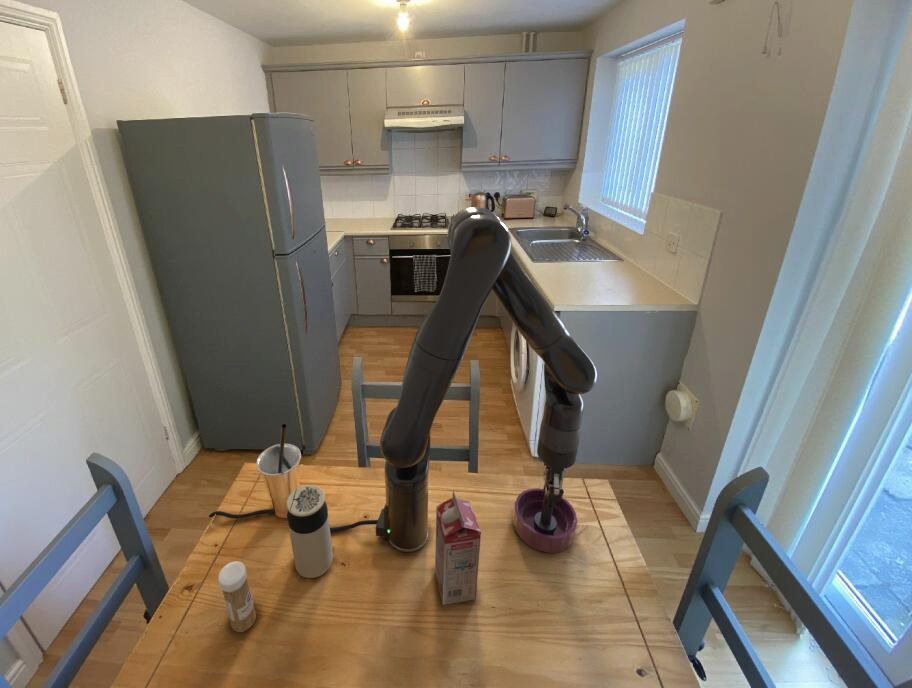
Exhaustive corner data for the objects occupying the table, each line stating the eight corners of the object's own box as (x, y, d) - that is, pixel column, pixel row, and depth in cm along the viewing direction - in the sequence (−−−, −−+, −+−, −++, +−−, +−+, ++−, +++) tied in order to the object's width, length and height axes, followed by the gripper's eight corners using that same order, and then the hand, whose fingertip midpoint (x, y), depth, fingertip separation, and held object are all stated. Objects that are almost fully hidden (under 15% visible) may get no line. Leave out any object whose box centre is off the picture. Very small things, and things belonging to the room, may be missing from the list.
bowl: (512, 547, 92) (514, 531, 90) (513, 498, 104) (514, 483, 102) (577, 560, 89) (581, 544, 87) (570, 509, 101) (573, 493, 99)
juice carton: (442, 604, 81) (445, 523, 73) (435, 571, 87) (436, 493, 79) (475, 599, 82) (482, 518, 74) (465, 566, 88) (470, 488, 80)
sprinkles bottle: (255, 629, 78) (243, 581, 73) (229, 636, 77) (215, 588, 72) (257, 604, 82) (246, 557, 77) (232, 610, 81) (220, 563, 76)
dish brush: (532, 539, 93) (540, 490, 87) (532, 521, 97) (539, 473, 92) (555, 544, 92) (564, 494, 86) (553, 525, 96) (562, 477, 91)
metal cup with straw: (301, 531, 97) (284, 426, 85) (256, 523, 99) (234, 420, 87) (318, 494, 107) (306, 395, 95) (277, 487, 109) (260, 390, 97)
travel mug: (337, 546, 93) (330, 485, 86) (326, 581, 86) (318, 518, 79) (303, 541, 94) (294, 481, 87) (289, 576, 87) (278, 513, 80)
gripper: (537, 414, 91) (529, 474, 98) (541, 459, 79) (531, 525, 86) (574, 419, 90) (563, 480, 96) (583, 466, 77) (570, 532, 84)
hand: (548, 501), depth 91 cm, fingers closed on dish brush
